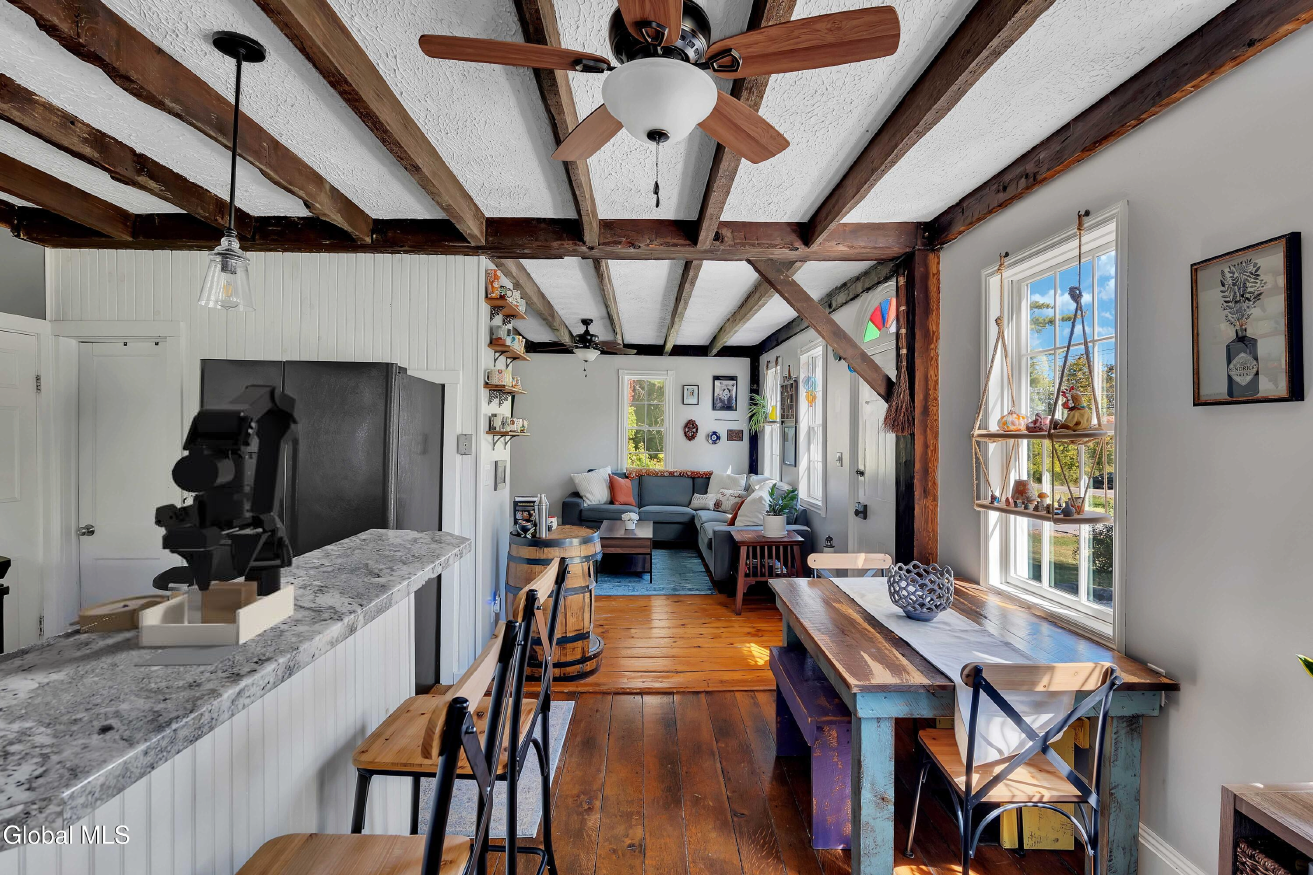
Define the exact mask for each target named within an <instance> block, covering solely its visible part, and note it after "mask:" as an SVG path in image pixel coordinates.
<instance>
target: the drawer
mask: <svg viewBox="0 0 1313 875" xmlns="http://www.w3.org/2000/svg"><path fill="white" fill-rule="evenodd" d="M294 594H295V585H294V584H290V585H288V586H285V587H283V588H281V590H279V591H277V592H275V593H273V594H271V595H269V596H267V597H257V601H256V602H254V603H252V604H250V605H248V606H246V607H244V608H242V609H240V610H238V611H236V624H187V615H188V593H186V594H183V596H180V597H178V598H175V599H172V600H171V599H169V601H167V602H165V603H162V604H159V605H157V606H154V607H152V608H149V609H146V610H144V611H141V612H139V628H138V647H172V646H218V645H243V644H244V643H245V642H247V641H249V640H250V639H252V638H254V637H255V636H257V635H259V634H261V633H263V632H265V631H266V630H268V629H269V628H271V627H273V626H275V625H276V624H278V623H280V622H282V621H284V620H285V619H287V618H289V617H290V616H292V615H294V608H295V606H294V602H295V601H294V600H295V598H294Z"/></svg>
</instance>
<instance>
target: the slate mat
mask: <svg viewBox="0 0 1313 875" xmlns="http://www.w3.org/2000/svg"><path fill="white" fill-rule="evenodd" d="M244 647H245V645H244V644H240V645H204V646H169V647H168V648H166V649H164V650H162V651H159V652H158V653H156V654H154V655H152V656H150V657H148V658H145V659H144V660H141V661H139V662H137V663H135V664H134V665H133V667H165V666H167V667H168V666H169V667H170V666H171V667H172V666H213V665H215V664H217V663H219V662H221V660H223V659H225V658H227V657H228V656H230V655H233V653H235V652H237V651H238V650H240V649H242V648H244Z"/></svg>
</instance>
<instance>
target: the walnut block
mask: <svg viewBox="0 0 1313 875" xmlns="http://www.w3.org/2000/svg"><path fill="white" fill-rule="evenodd" d="M187 594H188V615H187V624H236V611H238V610H240V609H242V608H244V607H246V606H248V605H250V604H252V603H254V602H256V601H257V582H244V581H219V580H212V582H211V584H210V587H209V589H208V590H207V591H199V589H198V586H197V584H195V585H192V586H188V587H187Z"/></svg>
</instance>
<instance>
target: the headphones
mask: <svg viewBox="0 0 1313 875" xmlns="http://www.w3.org/2000/svg"><path fill="white" fill-rule="evenodd" d="M183 595H184V593H183V592H181V591H179V590H171V591H170V595H169V594H166V593H164V594H163V593H162V594H161V593H155V594H145V595H138V596H131V597H126V598H125V597H124V598H119V599H116V600H111V601H107V602H102V603H99V604H95V605H92V606H89V607H86V608H84V609H82V610H80V611H79V612H78V619H79V620H74V621H72V622H69V624H68V625H69V627H72V626H78V625H79V632H80V633H81V634H84V633H85V632H88V633H89V632H90V633H107V632H108V633H109V632H118V631H125V630H132V629H136V628H138V629H139V612H141V611H144V610H146V609H149V608H152V607H154V606H157V605H159V604H162V603H165V602H167V601H170V600H172V599H175V598H178V597H180V596H183ZM113 616H114V617H113ZM106 618H108V619H106ZM103 619H105V620H103ZM95 623H97V624H95ZM92 624H94V625H92ZM89 625H92V626H89ZM86 626H89V627H87V628H85V629H82V630H80V629H81V628H83V627H86ZM86 629H87V630H86ZM81 631H82V632H81Z"/></svg>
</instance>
